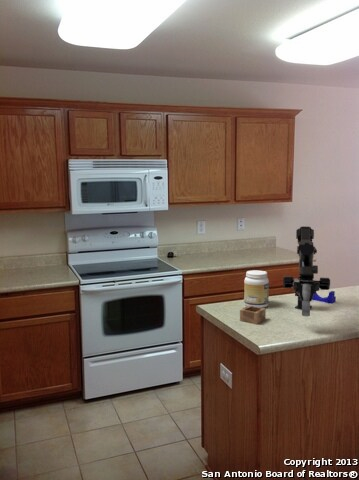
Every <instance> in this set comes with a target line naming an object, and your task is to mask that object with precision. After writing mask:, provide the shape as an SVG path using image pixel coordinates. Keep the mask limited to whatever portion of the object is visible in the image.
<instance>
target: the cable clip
mask: <svg viewBox="0 0 359 480" xmlns="http://www.w3.org/2000/svg"><path fill="white" fill-rule="evenodd" d="M335 293H336V291H333V290H331V291H329V292H328V295H327V296H325V297H322V296H321V295H319V294H318V293H317V291H316V292H315V294H314V296H313V299H312V301H317V302H321V303H326V304H331V305H333V304H334V303H336V301H337V300H336V298H337V297H336V296H335Z"/></svg>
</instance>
